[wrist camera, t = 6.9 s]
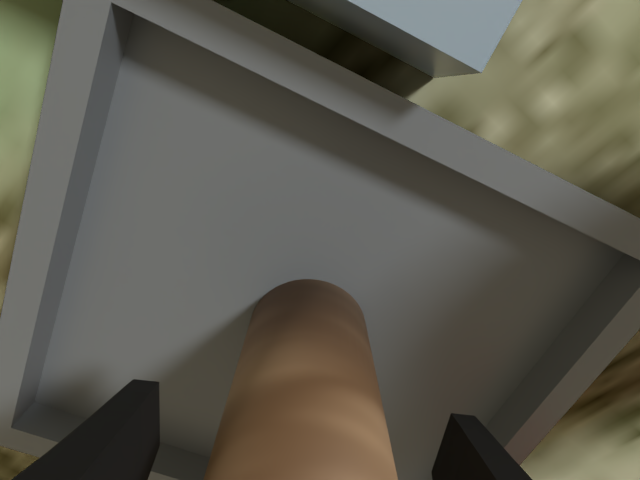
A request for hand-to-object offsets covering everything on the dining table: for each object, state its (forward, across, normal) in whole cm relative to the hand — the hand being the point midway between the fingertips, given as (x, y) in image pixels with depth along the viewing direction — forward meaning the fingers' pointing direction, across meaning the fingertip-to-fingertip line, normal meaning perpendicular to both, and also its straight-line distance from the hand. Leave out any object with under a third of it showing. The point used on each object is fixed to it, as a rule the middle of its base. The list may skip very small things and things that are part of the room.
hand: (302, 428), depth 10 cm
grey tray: (+5, 0, 0) cm, 5 cm away
